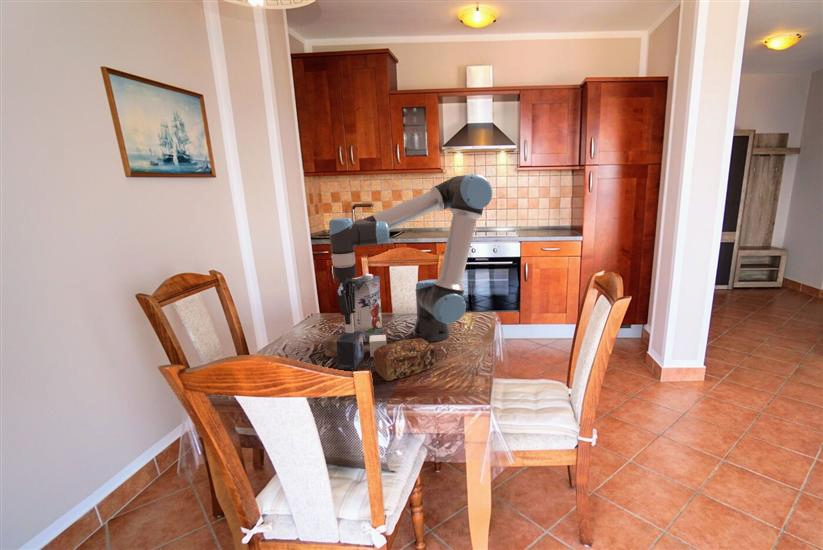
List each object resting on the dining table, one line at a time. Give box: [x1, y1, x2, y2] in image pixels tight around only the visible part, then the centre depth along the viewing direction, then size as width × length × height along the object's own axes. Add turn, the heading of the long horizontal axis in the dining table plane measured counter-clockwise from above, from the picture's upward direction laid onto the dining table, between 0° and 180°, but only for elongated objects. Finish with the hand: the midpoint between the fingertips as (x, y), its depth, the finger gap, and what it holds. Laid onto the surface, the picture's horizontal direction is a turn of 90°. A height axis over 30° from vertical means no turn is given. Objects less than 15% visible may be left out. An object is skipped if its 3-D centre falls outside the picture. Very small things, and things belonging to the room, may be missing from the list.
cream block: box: [368, 334, 387, 358], centre depth 146 cm, size 6×6×6 cm
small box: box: [336, 331, 365, 371], centre depth 137 cm, size 11×6×10 cm, turn 168°
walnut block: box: [323, 334, 342, 358], centre depth 147 cm, size 6×6×6 cm
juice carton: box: [352, 273, 383, 344], centre depth 158 cm, size 9×10×27 cm
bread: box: [373, 338, 436, 382], centre depth 131 cm, size 19×11×10 cm, turn 120°
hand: (350, 331), depth 136 cm, fingers closed
